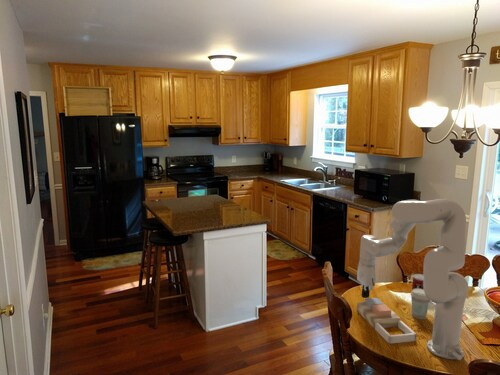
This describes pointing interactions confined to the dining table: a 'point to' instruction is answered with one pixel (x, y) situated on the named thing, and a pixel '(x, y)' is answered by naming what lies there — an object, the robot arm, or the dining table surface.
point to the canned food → (417, 281)
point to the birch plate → (373, 318)
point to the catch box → (398, 338)
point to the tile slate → (372, 302)
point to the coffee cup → (419, 303)
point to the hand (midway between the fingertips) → (365, 297)
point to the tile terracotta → (381, 310)
